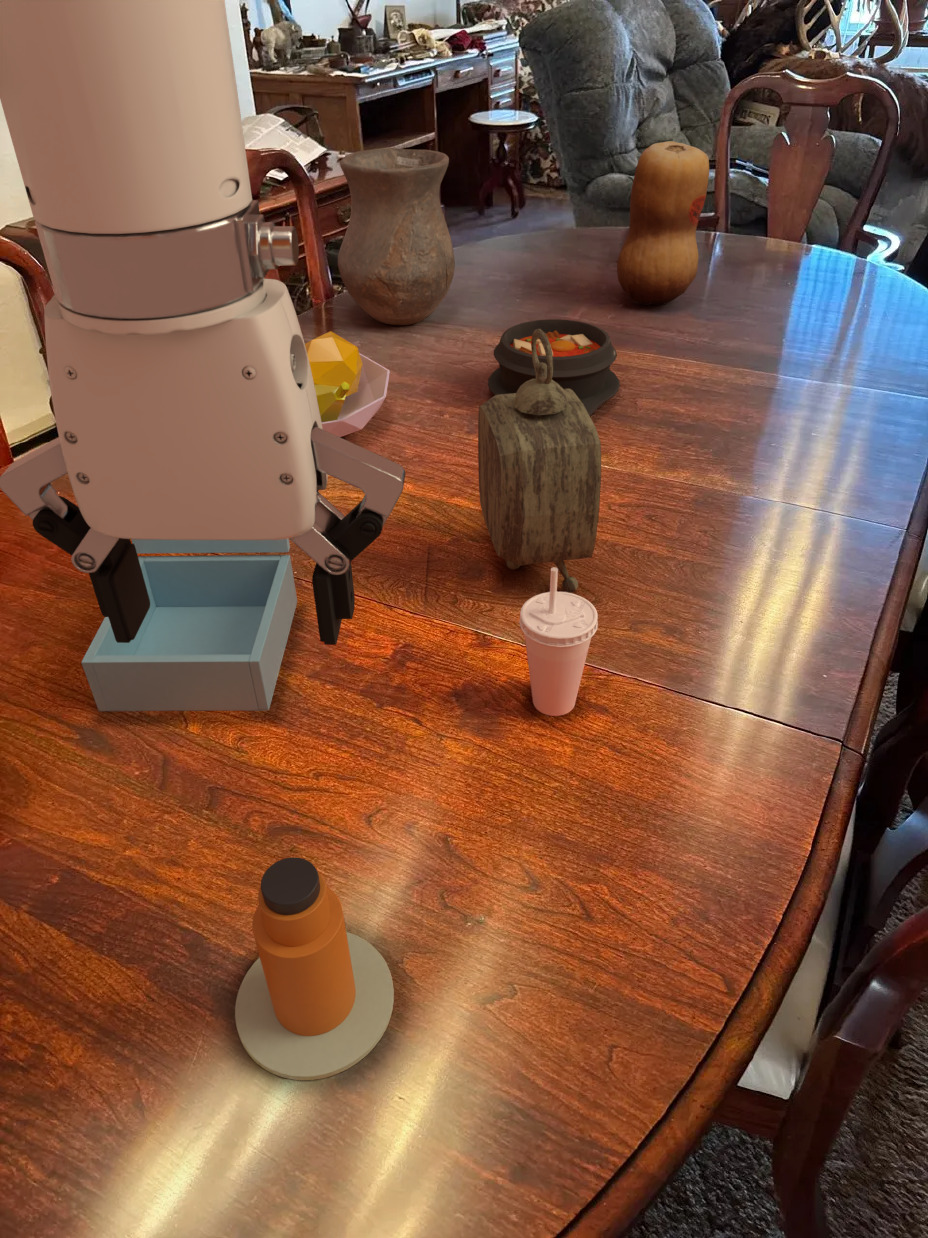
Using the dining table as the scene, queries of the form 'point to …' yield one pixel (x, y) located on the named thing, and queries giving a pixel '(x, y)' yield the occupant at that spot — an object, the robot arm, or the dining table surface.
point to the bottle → (303, 948)
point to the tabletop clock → (539, 472)
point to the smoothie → (557, 646)
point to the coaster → (327, 1050)
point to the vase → (396, 234)
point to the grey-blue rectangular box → (199, 637)
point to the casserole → (558, 360)
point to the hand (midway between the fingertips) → (233, 625)
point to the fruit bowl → (345, 384)
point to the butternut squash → (663, 223)
